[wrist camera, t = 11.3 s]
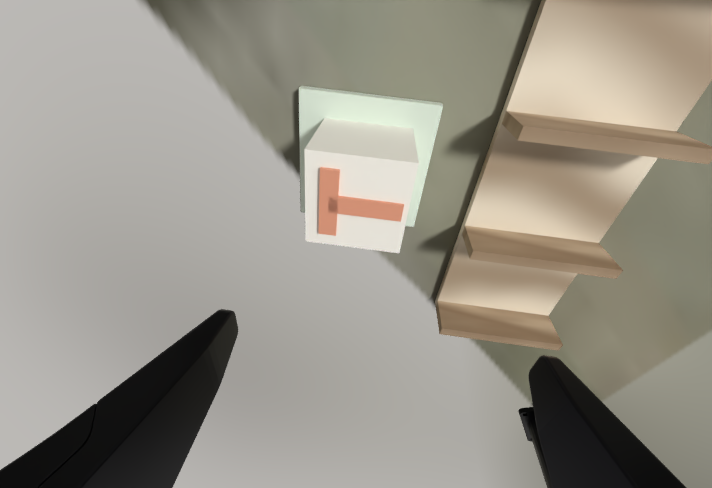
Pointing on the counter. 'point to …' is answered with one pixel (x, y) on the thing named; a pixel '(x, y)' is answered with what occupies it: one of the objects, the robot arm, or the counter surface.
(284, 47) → the counter surface
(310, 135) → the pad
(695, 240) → the counter surface
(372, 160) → the letter cube
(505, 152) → the slot rack
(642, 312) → the counter surface
